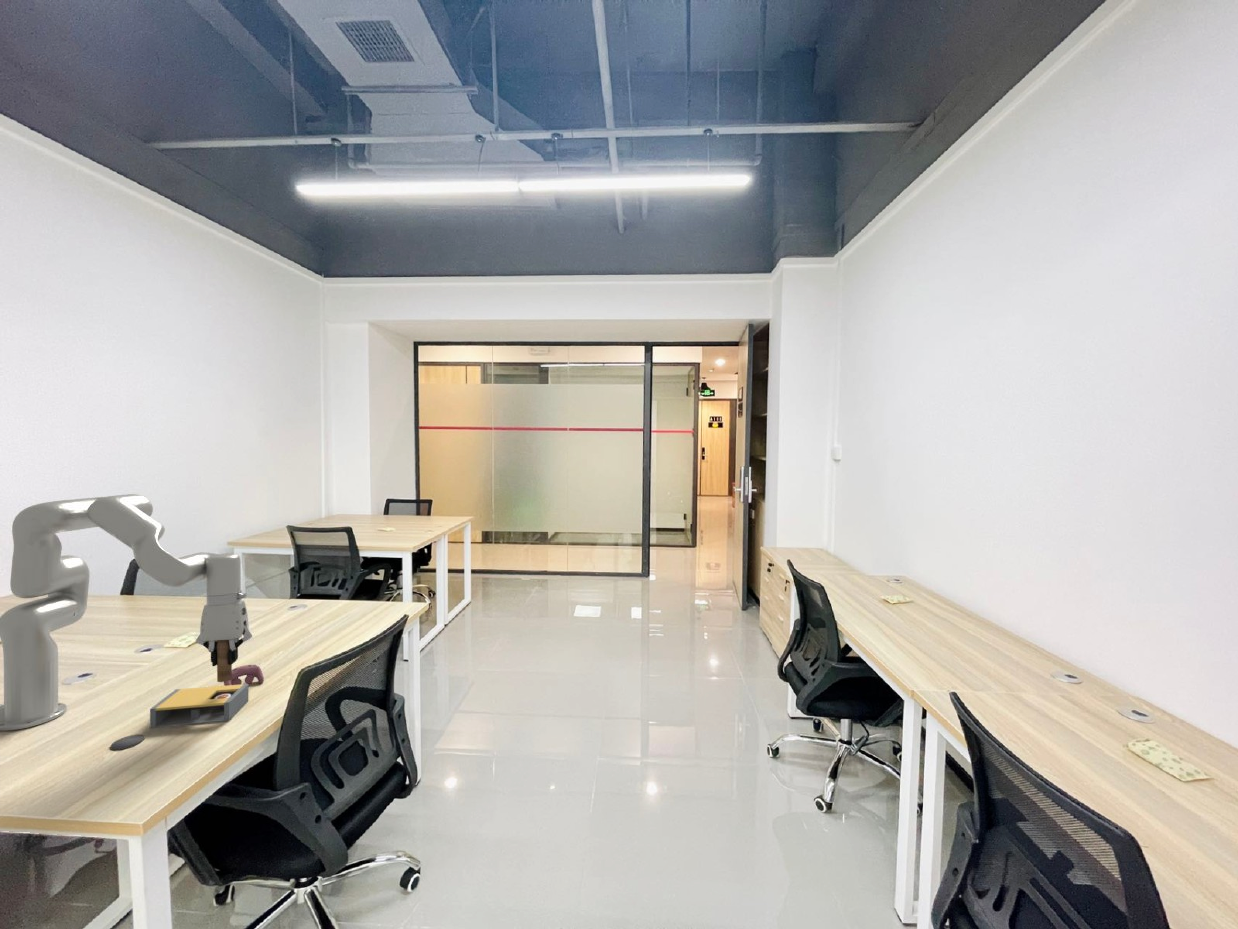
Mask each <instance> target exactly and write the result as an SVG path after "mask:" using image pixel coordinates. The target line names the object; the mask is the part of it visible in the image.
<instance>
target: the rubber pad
mask: <svg viewBox="0 0 1238 929" xmlns="http://www.w3.org/2000/svg"><path fill="white" fill-rule="evenodd" d="M144 740H145V735H143V734H131V735H127V736H124V737H121V738H119V739H117V740H115V741H114V742H112V743H111V745H110V749H111V750H113V751H120V750H125V749H130V748H132V747H135V746H137V745H139V744H141V743H142V742H143V741H144Z"/></svg>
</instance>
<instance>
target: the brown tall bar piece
mask: <svg viewBox="0 0 1238 929" xmlns="http://www.w3.org/2000/svg"><path fill="white" fill-rule="evenodd" d="M229 650H230V643H229V640H219V641H217V665H216V671H217V672H216V674H217V675H216V676H217V677H216V678H217V679H216V680H217V681H216V682H218V683H224V682H225V681H228V680H231V679H232V670H233V668H232V666H233V664H232V665H228V651H229Z"/></svg>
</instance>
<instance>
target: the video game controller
mask: <svg viewBox="0 0 1238 929" xmlns="http://www.w3.org/2000/svg"><path fill="white" fill-rule="evenodd" d="M243 676H245V678H244V684H251V683H253V681H254V680H255V678H256V679H257V680H258V681H257V682H259V683H260V684H263V683H264V680H265V677H264V674H263V671H262V669H261V667H260V666H259V665H256V664H245V665H242V666H238V667H235V668H232V679H231V680H228V681H225V682H223V686H228V685H241V684H242V682H243V681H242V679H241V678H240V677H243Z"/></svg>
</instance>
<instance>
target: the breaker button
mask: <svg viewBox="0 0 1238 929" xmlns="http://www.w3.org/2000/svg"><path fill="white" fill-rule="evenodd" d="M230 697H231V694H222V695H219V696H217V697H215V699H221V698H230Z"/></svg>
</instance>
